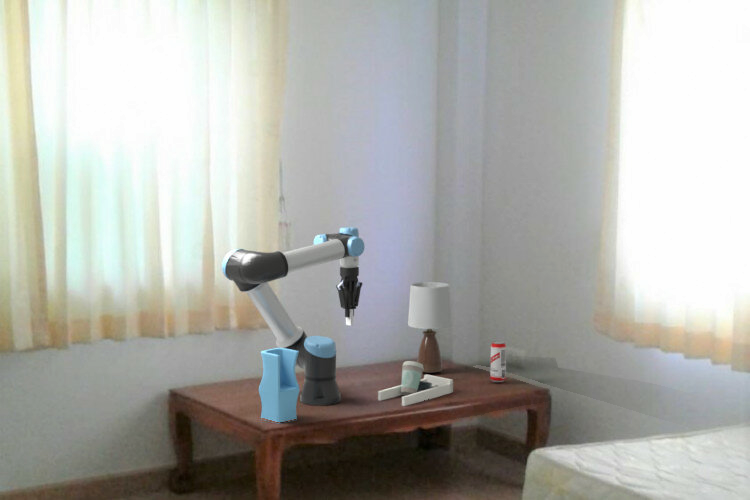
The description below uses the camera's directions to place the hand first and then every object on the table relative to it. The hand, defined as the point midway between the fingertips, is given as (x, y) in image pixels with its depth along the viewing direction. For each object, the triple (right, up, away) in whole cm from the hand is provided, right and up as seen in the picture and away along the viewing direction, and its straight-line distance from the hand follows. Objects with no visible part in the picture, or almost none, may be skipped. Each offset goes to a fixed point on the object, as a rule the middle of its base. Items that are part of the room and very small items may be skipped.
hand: (349, 325), depth 363 cm
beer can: (+60, -24, +9) cm, 66 cm away
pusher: (+31, -25, -10) cm, 41 cm away
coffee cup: (+23, -25, -18) cm, 38 cm away
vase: (-23, -30, -50) cm, 62 cm away
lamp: (+34, -22, +29) cm, 49 cm away
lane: (+26, -26, -15) cm, 40 cm away
